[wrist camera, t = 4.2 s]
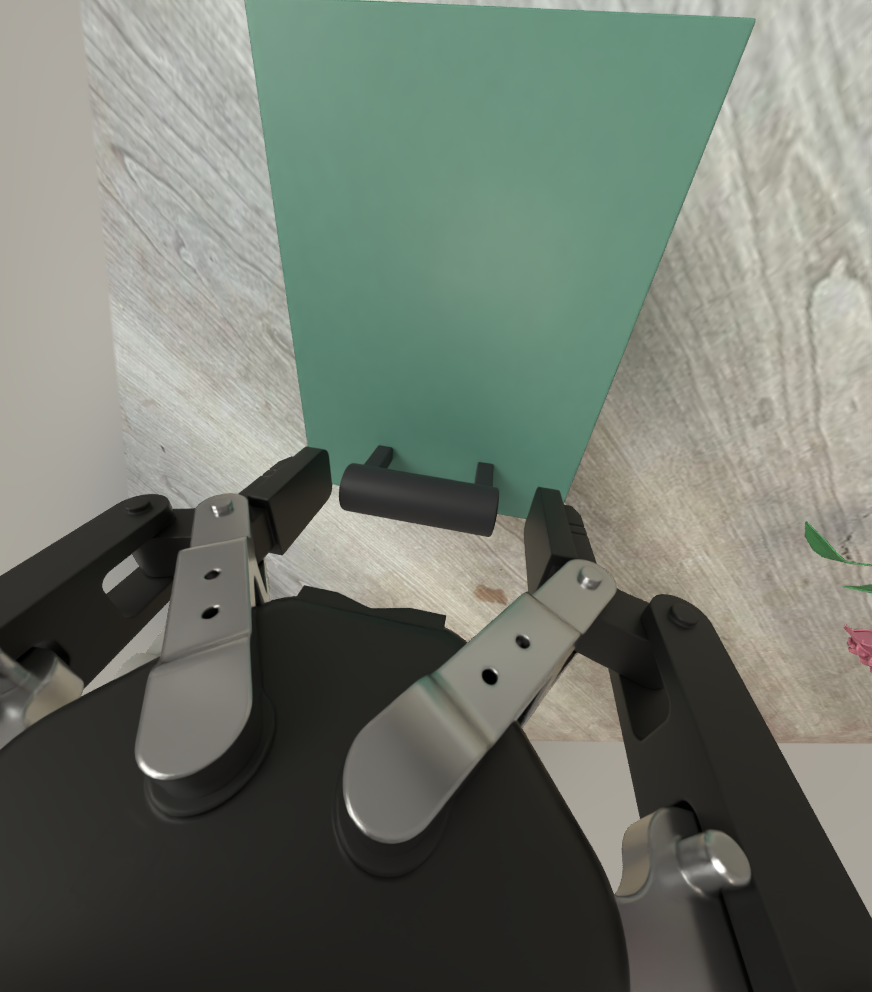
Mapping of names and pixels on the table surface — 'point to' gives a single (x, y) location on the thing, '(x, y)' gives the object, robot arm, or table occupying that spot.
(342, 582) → the table surface
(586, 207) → the chest lid
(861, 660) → the flower vase
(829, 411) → the table surface
